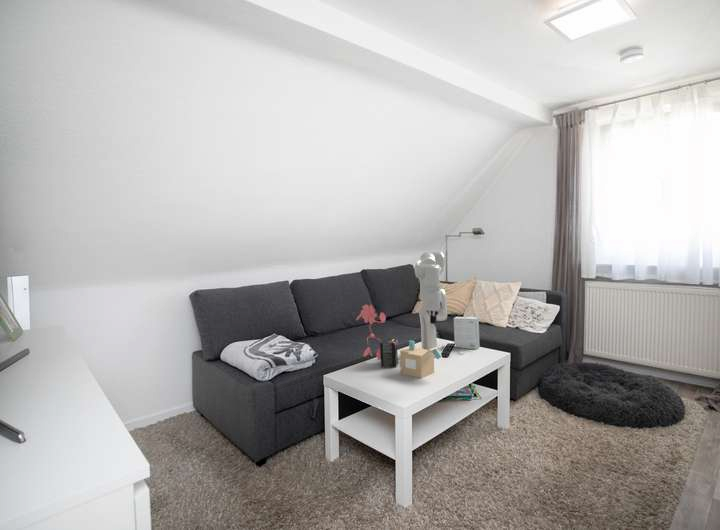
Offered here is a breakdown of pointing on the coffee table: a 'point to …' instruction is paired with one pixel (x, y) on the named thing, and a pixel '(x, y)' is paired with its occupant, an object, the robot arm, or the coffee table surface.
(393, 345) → the tampon box
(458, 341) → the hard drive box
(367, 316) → the figurine
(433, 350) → the flap
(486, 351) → the coffee table surface
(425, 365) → the carton
